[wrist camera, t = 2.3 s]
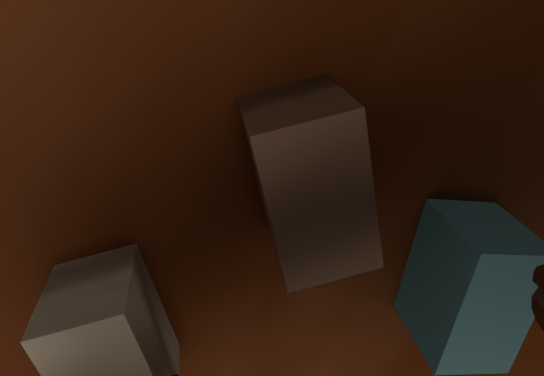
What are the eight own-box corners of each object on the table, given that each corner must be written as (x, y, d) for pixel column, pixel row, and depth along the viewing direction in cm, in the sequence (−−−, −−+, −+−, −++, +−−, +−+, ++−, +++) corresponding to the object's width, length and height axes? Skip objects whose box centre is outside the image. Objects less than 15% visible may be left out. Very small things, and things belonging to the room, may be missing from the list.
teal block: (425, 197, 21) (481, 253, 17) (494, 201, 22) (563, 256, 18) (392, 304, 24) (434, 375, 20) (455, 304, 24) (508, 373, 20)
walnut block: (235, 96, 18) (249, 136, 14) (325, 73, 18) (364, 107, 14) (269, 227, 20) (288, 293, 16) (346, 207, 21) (383, 267, 17)
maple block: (54, 263, 20) (19, 342, 16) (136, 241, 20) (123, 314, 16) (107, 364, 22) (89, 452, 18) (179, 343, 22) (177, 427, 18)
